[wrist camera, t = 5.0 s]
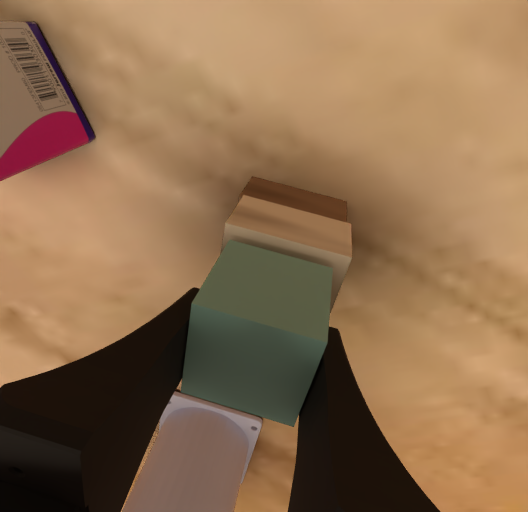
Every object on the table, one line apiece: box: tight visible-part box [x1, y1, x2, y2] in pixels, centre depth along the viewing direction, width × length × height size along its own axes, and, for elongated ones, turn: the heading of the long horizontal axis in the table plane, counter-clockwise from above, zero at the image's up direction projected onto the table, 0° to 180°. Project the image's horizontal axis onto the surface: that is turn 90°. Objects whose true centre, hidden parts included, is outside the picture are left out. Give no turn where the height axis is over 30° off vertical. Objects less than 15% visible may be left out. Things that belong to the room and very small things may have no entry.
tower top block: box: [220, 195, 352, 313], centre depth 17 cm, size 5×5×3 cm
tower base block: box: [238, 177, 347, 223], centre depth 20 cm, size 5×5×3 cm
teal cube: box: [181, 240, 333, 427], centre depth 13 cm, size 4×4×4 cm
